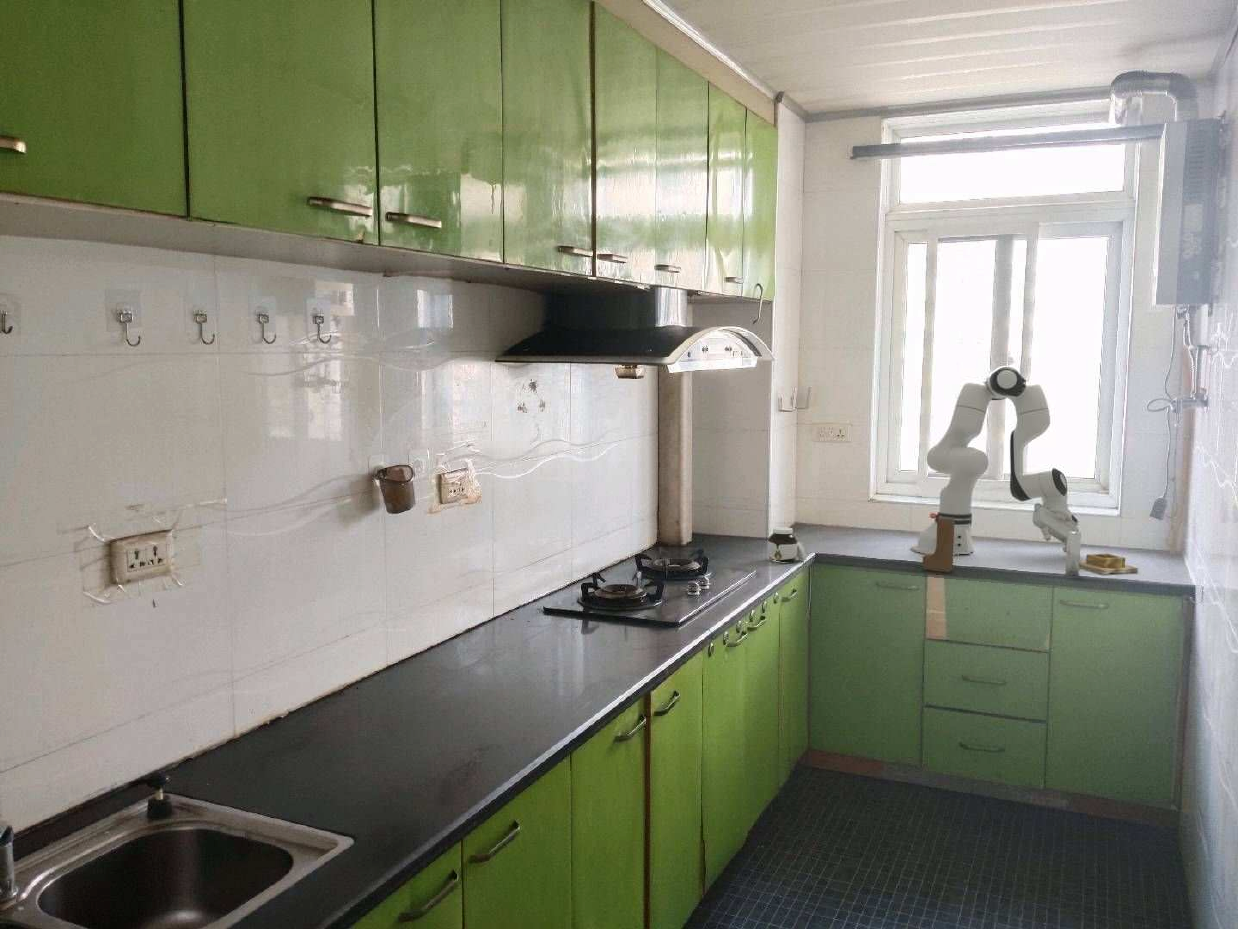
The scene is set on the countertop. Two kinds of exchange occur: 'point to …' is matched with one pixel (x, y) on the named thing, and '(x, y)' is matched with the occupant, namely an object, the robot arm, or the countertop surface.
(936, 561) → the wooden block
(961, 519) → the robot arm
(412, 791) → the countertop surface
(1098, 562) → the socket block
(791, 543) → the spread jar
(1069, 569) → the steel pin
